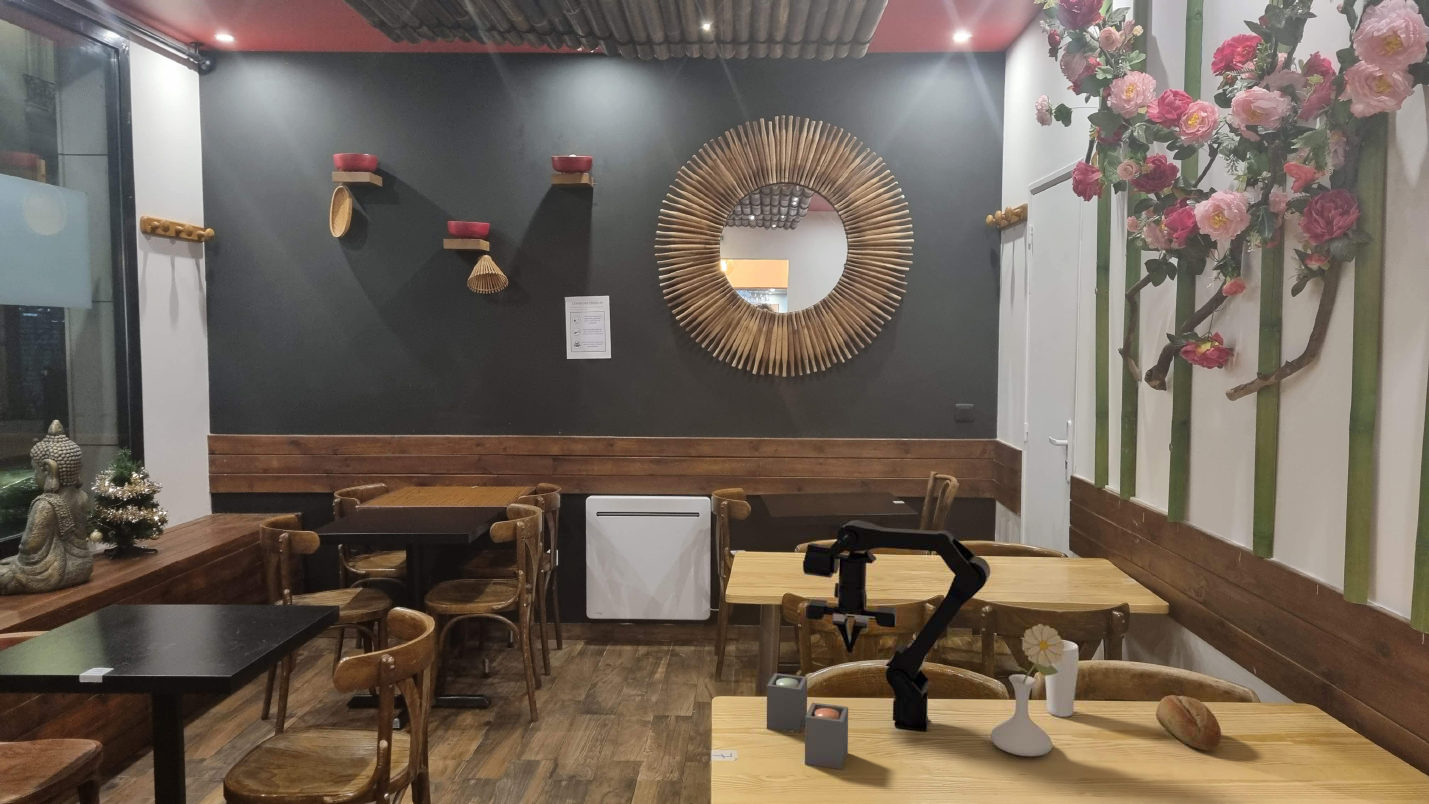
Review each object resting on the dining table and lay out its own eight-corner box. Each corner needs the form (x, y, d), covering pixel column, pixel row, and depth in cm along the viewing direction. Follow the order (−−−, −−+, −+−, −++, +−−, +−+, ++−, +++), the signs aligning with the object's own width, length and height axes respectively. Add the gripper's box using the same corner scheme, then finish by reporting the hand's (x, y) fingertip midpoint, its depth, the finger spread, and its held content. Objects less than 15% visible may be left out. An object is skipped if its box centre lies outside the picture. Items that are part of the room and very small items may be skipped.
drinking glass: (1080, 721, 176) (1082, 650, 175) (1046, 718, 177) (1047, 648, 176) (1073, 707, 182) (1074, 640, 181) (1040, 705, 183) (1041, 638, 183)
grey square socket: (806, 718, 176) (807, 677, 176) (800, 733, 169) (800, 689, 169) (774, 714, 178) (774, 673, 178) (766, 728, 172) (766, 685, 171)
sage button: (800, 691, 175) (800, 679, 175) (795, 699, 171) (795, 687, 170) (778, 688, 176) (779, 676, 176) (773, 697, 172) (773, 685, 172)
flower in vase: (989, 756, 160) (991, 627, 158) (991, 731, 170) (993, 610, 169) (1063, 768, 155) (1066, 636, 154) (1060, 742, 166) (1063, 618, 165)
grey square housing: (847, 752, 161) (848, 706, 161) (842, 769, 154) (842, 722, 154) (811, 747, 163) (812, 702, 163) (804, 764, 157) (805, 717, 156)
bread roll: (1185, 756, 160) (1187, 715, 160) (1142, 722, 175) (1143, 685, 175) (1234, 755, 161) (1235, 715, 160) (1187, 721, 176) (1188, 684, 175)
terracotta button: (840, 722, 160) (841, 709, 160) (837, 732, 156) (837, 719, 155) (817, 719, 161) (817, 706, 161) (812, 729, 157) (812, 716, 157)
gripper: (899, 574, 183) (896, 644, 184) (814, 567, 188) (812, 635, 189) (896, 588, 173) (893, 662, 174) (806, 580, 178) (804, 652, 179)
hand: (849, 652), depth 179 cm, fingers closed
